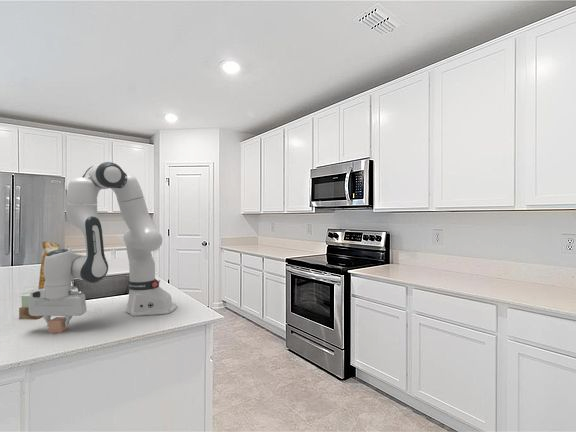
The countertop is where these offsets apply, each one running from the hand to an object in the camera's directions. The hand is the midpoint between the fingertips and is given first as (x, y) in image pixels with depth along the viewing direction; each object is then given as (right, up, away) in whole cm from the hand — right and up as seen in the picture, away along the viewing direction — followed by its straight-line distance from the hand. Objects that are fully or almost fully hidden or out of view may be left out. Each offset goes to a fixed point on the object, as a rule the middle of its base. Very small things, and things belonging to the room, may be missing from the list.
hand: (58, 326), depth 128 cm
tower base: (-21, -1, +16) cm, 27 cm away
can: (-9, -1, +20) cm, 22 cm away
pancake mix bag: (-45, 0, +56) cm, 71 cm away
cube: (0, -2, 0) cm, 2 cm away
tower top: (-21, +4, +16) cm, 27 cm away
